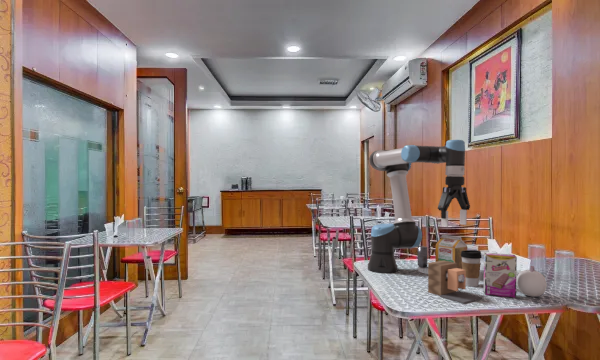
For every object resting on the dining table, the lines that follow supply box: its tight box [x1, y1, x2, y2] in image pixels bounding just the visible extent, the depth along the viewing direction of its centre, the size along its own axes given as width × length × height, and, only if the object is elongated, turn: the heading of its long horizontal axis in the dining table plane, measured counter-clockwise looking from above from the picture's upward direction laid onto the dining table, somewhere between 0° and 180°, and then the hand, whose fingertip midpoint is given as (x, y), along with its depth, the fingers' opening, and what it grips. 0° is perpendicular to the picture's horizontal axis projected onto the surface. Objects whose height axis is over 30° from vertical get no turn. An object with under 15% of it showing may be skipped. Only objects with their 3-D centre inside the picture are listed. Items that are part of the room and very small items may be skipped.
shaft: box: [417, 245, 465, 283], centre depth 150 cm, size 21×4×11 cm, turn 32°
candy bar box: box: [483, 251, 518, 299], centre depth 146 cm, size 11×5×16 cm, turn 71°
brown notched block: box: [427, 260, 457, 297], centre depth 149 cm, size 6×10×12 cm, turn 122°
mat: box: [439, 290, 483, 305], centre depth 142 cm, size 10×12×1 cm
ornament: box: [516, 265, 548, 298], centre depth 145 cm, size 10×10×12 cm
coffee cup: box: [461, 249, 483, 288], centre depth 161 cm, size 8×8×15 cm
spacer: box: [448, 268, 466, 291], centre depth 143 cm, size 4×6×8 cm
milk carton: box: [434, 234, 468, 269], centre depth 181 cm, size 11×11×19 cm
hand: (454, 225), depth 157 cm, fingers open, 13 cm apart
